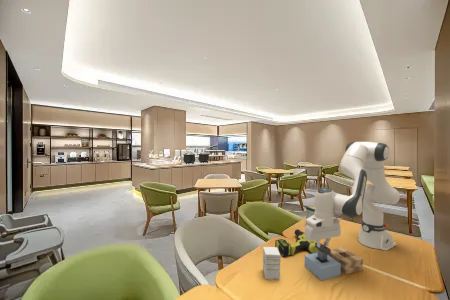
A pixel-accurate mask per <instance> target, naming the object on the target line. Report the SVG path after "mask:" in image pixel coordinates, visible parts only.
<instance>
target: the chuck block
mask: <svg viewBox="0 0 450 300" xmlns="http://www.w3.org/2000/svg"><path fill="white" fill-rule="evenodd" d="M317 259H318V252H316V253H310V254H305V255H304V262H303V263H304V265H303V266H304V267H305V268H306V269H307V270H308V271H309V272H311V273H312V274H313V275H314V276H315V277H317V278H318V280H319V281H324V280H329V279H331V278H336V277H340V276H341V273H342V272H341V264H340V263H339V262H337V261H336V260H334V259H333V258H331V257H330V256H328V255H327V262H324V263H321V262H320V261H319V260H317Z"/></svg>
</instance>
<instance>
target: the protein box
mask: <svg viewBox="0 0 450 300" xmlns="http://www.w3.org/2000/svg"><path fill="white" fill-rule="evenodd" d="M314 213H315V204H314V205H310V206H306V207H305V220H306V219H307V218H309V217H311V216H313V215H314ZM306 225H307V223H306V222H305V226H306Z"/></svg>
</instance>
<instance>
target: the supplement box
mask: <svg viewBox="0 0 450 300" xmlns="http://www.w3.org/2000/svg"><path fill="white" fill-rule="evenodd" d="M262 248H263V250H262V251H263V252H262V255H263V256H262V272H263V275H264V279H265V280H274V279H275V280H281V254H280V253H279V251H278V249H277V247H275V246H263V247H262Z"/></svg>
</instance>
